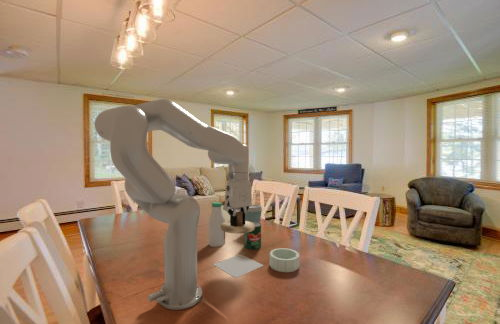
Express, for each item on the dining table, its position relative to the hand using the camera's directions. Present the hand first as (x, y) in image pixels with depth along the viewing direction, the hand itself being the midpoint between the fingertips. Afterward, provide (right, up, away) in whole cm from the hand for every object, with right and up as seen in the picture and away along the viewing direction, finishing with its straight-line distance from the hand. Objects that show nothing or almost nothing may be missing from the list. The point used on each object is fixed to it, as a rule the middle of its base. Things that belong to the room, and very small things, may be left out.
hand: (237, 224), depth 96 cm
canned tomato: (+6, -16, +20) cm, 26 cm away
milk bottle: (-11, -16, +23) cm, 30 cm away
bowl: (+18, -17, +1) cm, 24 cm away
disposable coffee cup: (+6, -15, +40) cm, 43 cm away
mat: (0, -17, +1) cm, 17 cm away
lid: (0, -1, 0) cm, 1 cm away
